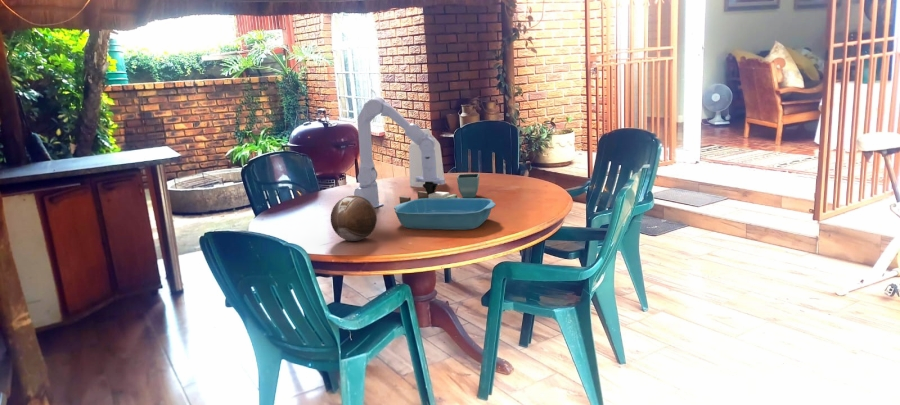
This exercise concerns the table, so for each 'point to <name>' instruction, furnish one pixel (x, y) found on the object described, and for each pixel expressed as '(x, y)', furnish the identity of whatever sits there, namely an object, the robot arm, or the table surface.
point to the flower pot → (468, 185)
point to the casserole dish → (444, 213)
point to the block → (438, 195)
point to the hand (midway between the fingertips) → (431, 200)
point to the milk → (416, 162)
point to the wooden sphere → (353, 218)
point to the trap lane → (422, 197)
